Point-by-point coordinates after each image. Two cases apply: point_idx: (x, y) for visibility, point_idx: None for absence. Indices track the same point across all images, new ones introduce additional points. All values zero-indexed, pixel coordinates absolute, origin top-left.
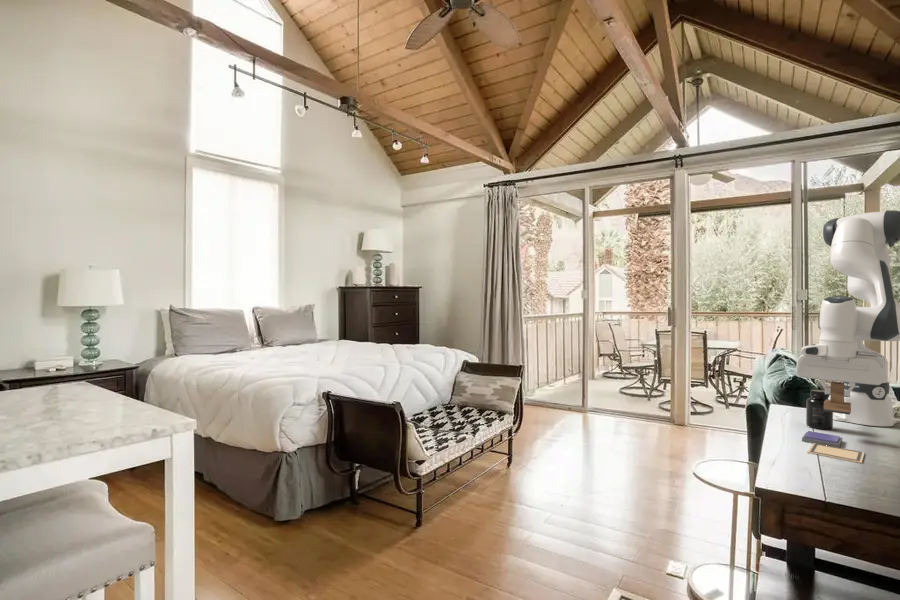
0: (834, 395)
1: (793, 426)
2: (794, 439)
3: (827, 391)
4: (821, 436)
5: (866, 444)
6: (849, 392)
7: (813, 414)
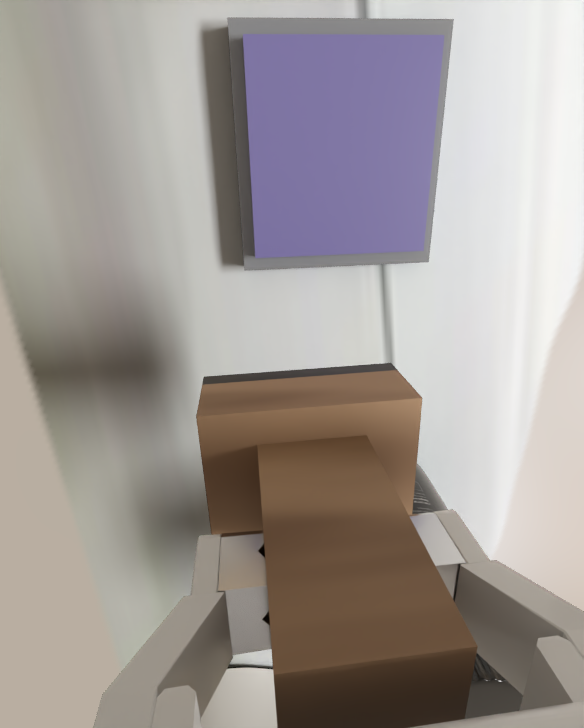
0: (353, 492)
1: (480, 418)
2: (483, 51)
3: (441, 538)
4: (345, 136)
5: (132, 300)
6: (197, 582)
7: (425, 501)
